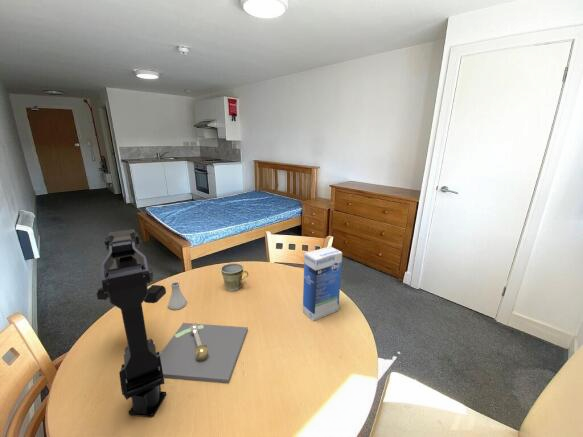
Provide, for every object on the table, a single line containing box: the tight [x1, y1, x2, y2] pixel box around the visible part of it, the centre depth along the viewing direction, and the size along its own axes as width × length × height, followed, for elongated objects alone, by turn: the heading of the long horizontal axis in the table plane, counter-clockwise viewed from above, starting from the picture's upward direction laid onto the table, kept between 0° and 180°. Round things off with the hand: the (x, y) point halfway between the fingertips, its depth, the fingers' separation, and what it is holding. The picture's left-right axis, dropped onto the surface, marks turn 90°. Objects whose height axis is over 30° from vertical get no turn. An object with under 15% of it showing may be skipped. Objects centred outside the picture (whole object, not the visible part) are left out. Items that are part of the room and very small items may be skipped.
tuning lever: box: [190, 322, 208, 361], centre depth 85 cm, size 15×4×3 cm, turn 30°
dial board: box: [159, 322, 249, 384], centre depth 85 cm, size 22×24×1 cm
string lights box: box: [302, 246, 343, 322], centre depth 103 cm, size 13×8×26 cm, turn 122°
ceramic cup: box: [220, 262, 249, 292], centre depth 122 cm, size 13×10×10 cm
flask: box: [167, 281, 188, 311], centre depth 108 cm, size 7×7×10 cm
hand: (135, 316), depth 83 cm, fingers closed
